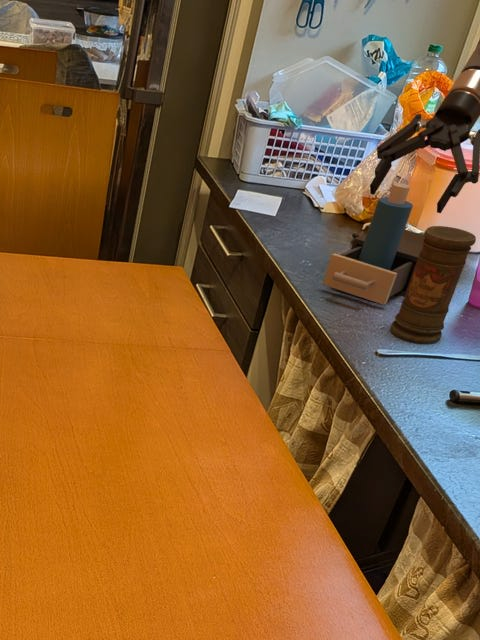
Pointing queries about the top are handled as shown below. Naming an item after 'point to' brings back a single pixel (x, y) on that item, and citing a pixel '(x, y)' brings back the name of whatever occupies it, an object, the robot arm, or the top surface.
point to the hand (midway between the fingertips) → (404, 199)
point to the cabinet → (402, 249)
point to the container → (432, 284)
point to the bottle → (387, 228)
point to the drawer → (367, 276)
